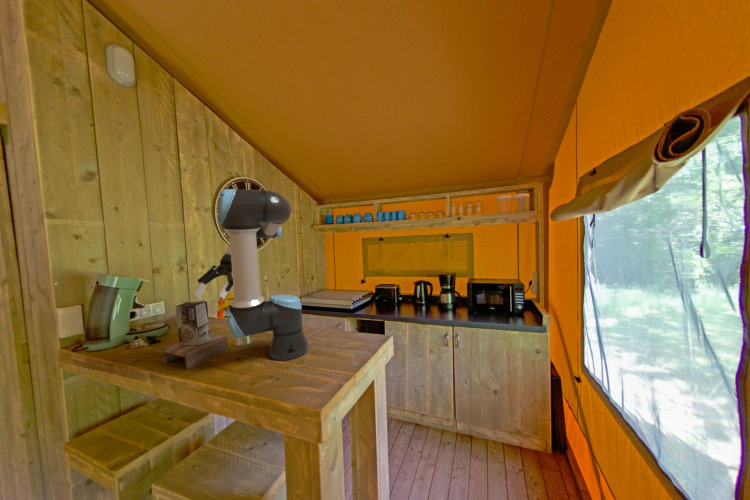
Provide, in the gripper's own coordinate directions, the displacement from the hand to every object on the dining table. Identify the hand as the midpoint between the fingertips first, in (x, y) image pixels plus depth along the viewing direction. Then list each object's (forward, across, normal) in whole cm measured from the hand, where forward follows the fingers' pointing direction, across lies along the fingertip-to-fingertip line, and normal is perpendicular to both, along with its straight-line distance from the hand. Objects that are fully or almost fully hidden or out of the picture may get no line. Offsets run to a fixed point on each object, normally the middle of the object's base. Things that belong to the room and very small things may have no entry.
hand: (208, 297), depth 112 cm
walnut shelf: (+22, 0, -10) cm, 24 cm away
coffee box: (+18, 0, -6) cm, 19 cm away
